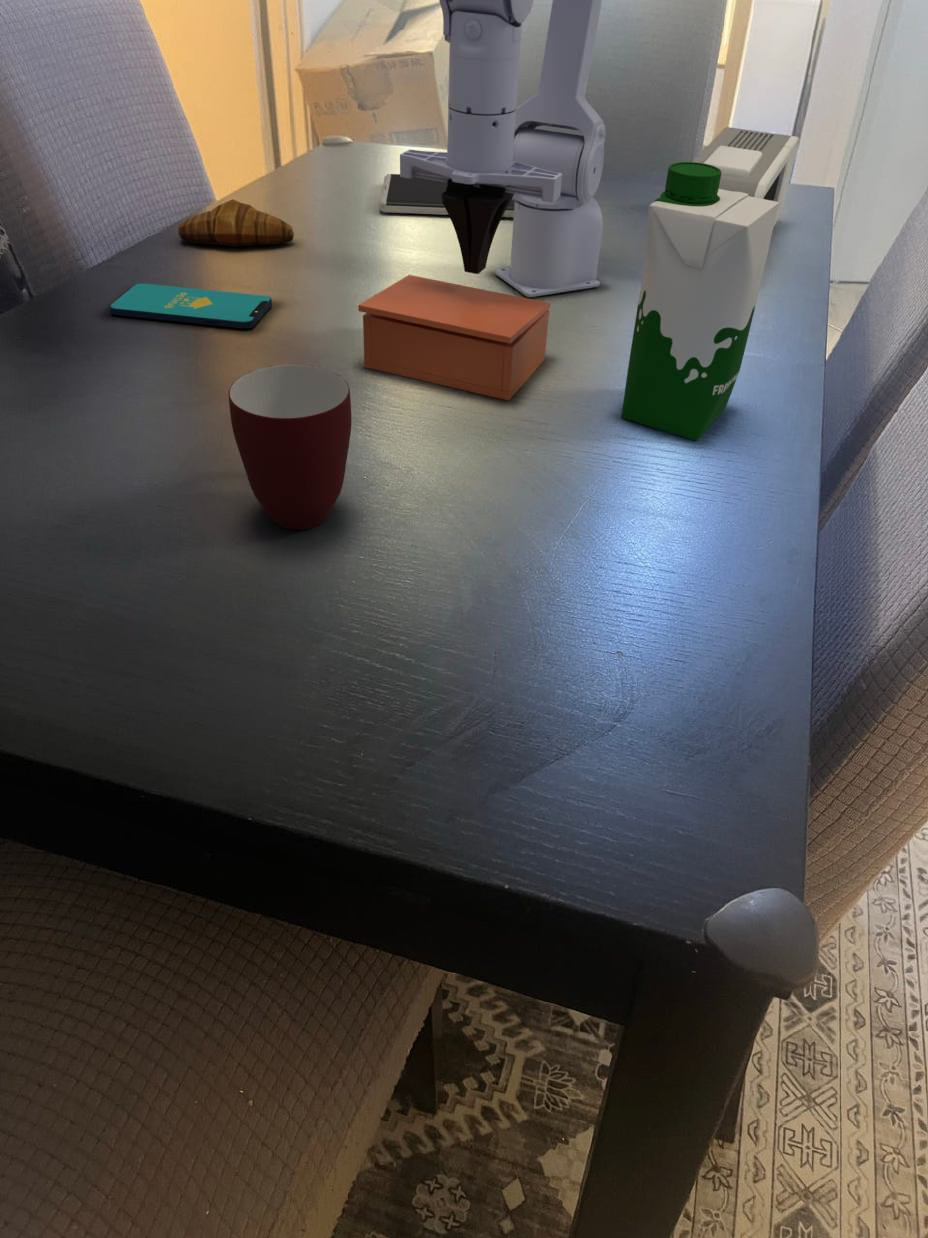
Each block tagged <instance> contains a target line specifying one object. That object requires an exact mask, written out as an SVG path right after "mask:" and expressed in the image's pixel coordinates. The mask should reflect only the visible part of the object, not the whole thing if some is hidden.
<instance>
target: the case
mask: <svg viewBox="0 0 928 1238" xmlns="http://www.w3.org/2000/svg"><path fill="white" fill-rule="evenodd" d="M549 318H550V309H549V310H548V311H547V312H545V313H544V314H543V315H542V316H541V317H540V318H539V319H537V320H536V321H535V322H534V323H533V324H532V325H531V326H530V327H528V328H527V329H526V330H525V331H524V332H523V333H522V334H520V335H519V336H518V337H517V338H516V339H515V340H514V341H513V342H511V343H510V344H509V343H505V342H500V341H495V340H491V339H486V338H481V337H477V336H472V335H467V334H463V333H458V332H453V331H449V330H444V329H439V328H435V327H430V326H425V325H421V324H416V323H412V322H407V321H402V320H398V319H393V318H388V317H384V316H379V315H374V314H370V313H364V314H363V315H362V333H363V335H362V337H363V366H364V368H366V369H370V370H374V371H375V370H376V371H380V372H384V373H389V374H393V375H397V376H402V377H405V378H410V379H414V380H418V381H423V382H427V383H432V384H434V385H435V384H436V385H440V386H445V387H449V388H453V389H457V390H460V391H461V390H462V391H465V392H470V393H474V394H478V395H483V396H487V397H492V398H496V399H499V400H504V401H510V400H511V399H512V398H513V397H514V395H516V394H517V392H518V391H519V390H520V388H521V387H523V385H524V384H525V383H526V382H527V380H529V378H531V376H532V375H533V374H534V373H535V371H536V370H537V369H538V368H539V367H540V366H541V365H542V363H543V362H544V361H545V359H546V350H547V339H548V328H549Z"/></svg>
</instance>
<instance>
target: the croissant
mask: <svg viewBox="0 0 928 1238" xmlns="http://www.w3.org/2000/svg"><path fill="white" fill-rule="evenodd" d="M177 232H178V235H179V239H180V240H181V241H185V242H189V243H193V244H204V245H221V246H228V247H229V246H230V247H243V246H258V245H259V246H267V245H268V246H269V245H280V244H286V243H290V242H292V241H293V240H294V235H295V233H294V229H293V226H291V225H290V224H289V223H287V222H286V221H284V220H282V219H281V218H278V217H276V216H274V215H272V214H270V213H267V212H264V211H260V210H257V208H255V207H254V206H252V205H251V204H248V203H243V202H240V201H238V200H237V199H236V200H235V199H230V200H227V201H226V202H223V203H220V204H219V205H217V206H215V207H214V208H212V209H211V210H209V211H205V212H201V213H199V214H196V215H194V216H192V217H189V218H188V219H186V220H184V221H183V222H182V223H180V224H179V225H178V230H177Z"/></svg>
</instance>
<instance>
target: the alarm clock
mask: <svg viewBox="0 0 928 1238" xmlns="http://www.w3.org/2000/svg"><path fill="white" fill-rule="evenodd" d="M799 141H800V139H799V136H794V135H789V134H788V135H787V134H781V133H775V132H766V131H759V130H751V129H744V128H739V127H738V128H736V127H731V126H726V127H724V128H723V130H721V132H720V133H718V135H717V136H715V137H714V138H713V140H712V141H711V142H710V143H709V144H708V145H707V146H706V147H705V148H704V149H703V150H702V151H701V152H700V153H699V154H698V155H697V156H696V157H695V158H694V160H692V162H696V163H703V164H708V165H712V166H715V167H717V168H719V169H720V170H721V178H720V184H719V189H722V190H727V191H733V192H735V191H737V192H742V193H747V194H748V195H749V196H750V197H755V198H760V199H765V200H770V201H775V202H779V205H778V209H777V214H776V218H775V223H774V227H775V225H776V224H777V222H778V220H779V219H780V216H781V215H782V211H783V207H784V205H785V200H786V196H787V192H788V189H789V186H790V185H789V184H790V180H791V177H792V172H793V169H794V165H795V161H796V160H795V159H796V156H797V152H798V148H799Z"/></svg>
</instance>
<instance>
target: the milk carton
mask: <svg viewBox="0 0 928 1238" xmlns="http://www.w3.org/2000/svg"><path fill="white" fill-rule="evenodd" d="M667 168H668V169H667V174H666V181H665V186H664V191H663V192H662V193H660V196H659V197H658V198H656V199H655V200H654V201H653V202H652V203H651V204H649V206H648V217H647V218H648V219H647V237H646V238H647V239H646V252H645V257H644V258H645V259H644V265H643V271H642V278H641V283H640V290H639V296H638V302H637V308H636V315H635V322H634V327H633V332H632V333H633V334H632V340H631V347H630V353H629V359H628V366H627V373H626V380H625V387H624V395H623V401H622V409H621V416H620V417H621V419H625V420H627V421H631V422H635V423H638V424H641V425H644V426H647V427H651V428H653V429H656V430H660V431H664V432H666V433H669V434H673V435H675V436H680V437H682V438H686V439H688V440H692V441H695V442H697V441H698V440H699V439H700V438H701V437H702V436H703V435H704V434H705V432H707V431H708V429H710V427H711V426H712V425H713V424H714V423H715V422H716V421H717V419H719V417H720V416H721V415H722V414H724V412H725V411H726V409H727V407H728V403H729V400H730V398H731V395H732V392H733V390H734V387H735V384H736V381H737V379H738V376H739V374H740V370H741V367H742V363H743V360H744V355H745V351H746V346H747V342H748V339H749V335H750V330H751V327H752V322H753V319H754V318H753V317H754V313H755V310H756V305H757V301H758V297H759V294H760V289H761V284H762V280H763V276H764V272H765V269H766V263H767V258H768V254H769V249H770V244H771V241H772V237H773V236H772V235H773V231H774V227H775V226H774V223H775V218H776V214H777V209H778V205H779V202H775V201H770V200H765V199H760V198H755V197H750V196H749V195H748V194H747V193H742V192H737V191H735V192H733V191H727V190H722V189H719V184H720V178H721V170H720V169H719V168H717V167H715V166H712V165H708V164H703V163H696V162H693V161H679V162H674V163H671V164H669V166H668V167H667Z"/></svg>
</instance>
